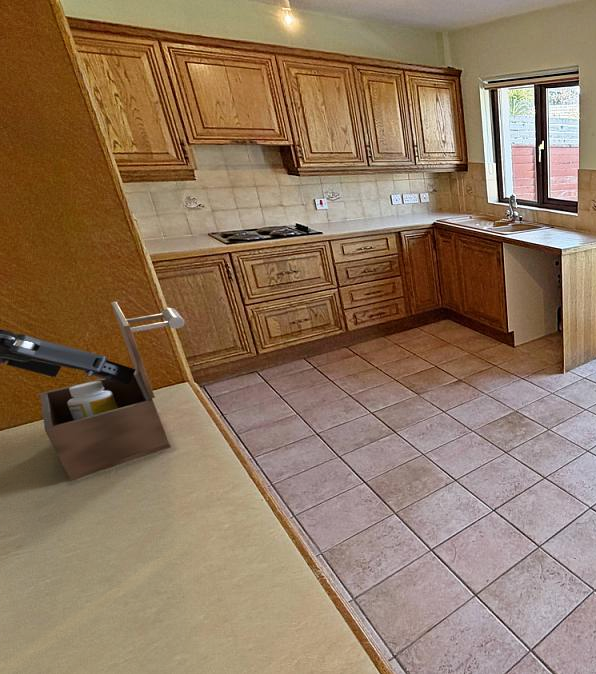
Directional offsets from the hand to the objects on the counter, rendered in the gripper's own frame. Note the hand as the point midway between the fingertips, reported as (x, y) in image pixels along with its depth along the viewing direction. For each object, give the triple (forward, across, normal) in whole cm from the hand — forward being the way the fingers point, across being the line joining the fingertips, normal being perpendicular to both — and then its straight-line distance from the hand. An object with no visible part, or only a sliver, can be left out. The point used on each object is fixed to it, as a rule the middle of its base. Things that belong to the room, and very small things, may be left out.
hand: (94, 373), depth 81 cm
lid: (0, +4, +5) cm, 6 cm away
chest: (+8, +1, -11) cm, 14 cm away
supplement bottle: (+7, 0, -10) cm, 12 cm away
